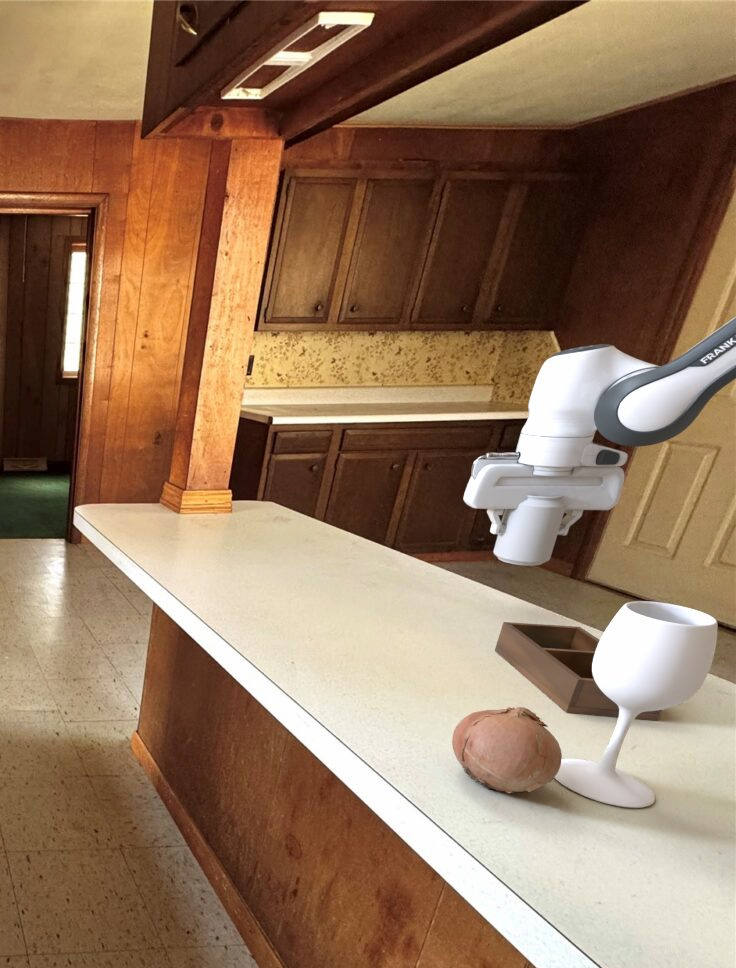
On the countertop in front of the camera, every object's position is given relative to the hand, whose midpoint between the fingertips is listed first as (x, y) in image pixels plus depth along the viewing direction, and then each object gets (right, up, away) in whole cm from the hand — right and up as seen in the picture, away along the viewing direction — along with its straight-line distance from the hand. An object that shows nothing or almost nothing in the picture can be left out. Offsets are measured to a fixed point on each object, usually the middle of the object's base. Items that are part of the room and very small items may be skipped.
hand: (527, 534), depth 112 cm
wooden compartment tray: (-9, -23, -17) cm, 30 cm away
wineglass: (-26, -32, -38) cm, 56 cm away
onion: (-37, -32, -37) cm, 61 cm away
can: (0, -5, +2) cm, 5 cm away
